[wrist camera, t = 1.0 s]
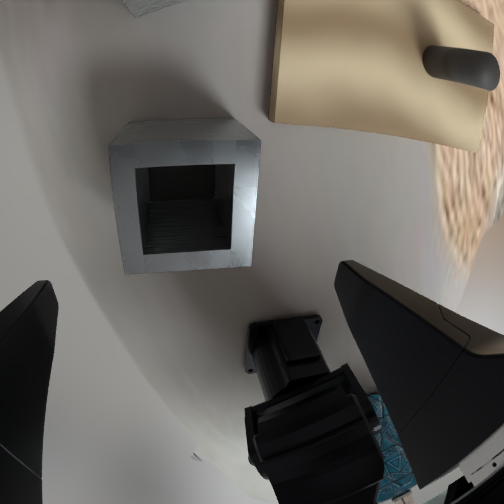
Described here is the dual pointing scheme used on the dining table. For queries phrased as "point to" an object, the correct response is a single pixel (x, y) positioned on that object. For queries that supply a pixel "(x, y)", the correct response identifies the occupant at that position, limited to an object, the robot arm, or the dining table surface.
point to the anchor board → (385, 68)
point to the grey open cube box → (146, 5)
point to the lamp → (395, 462)
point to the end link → (185, 211)
